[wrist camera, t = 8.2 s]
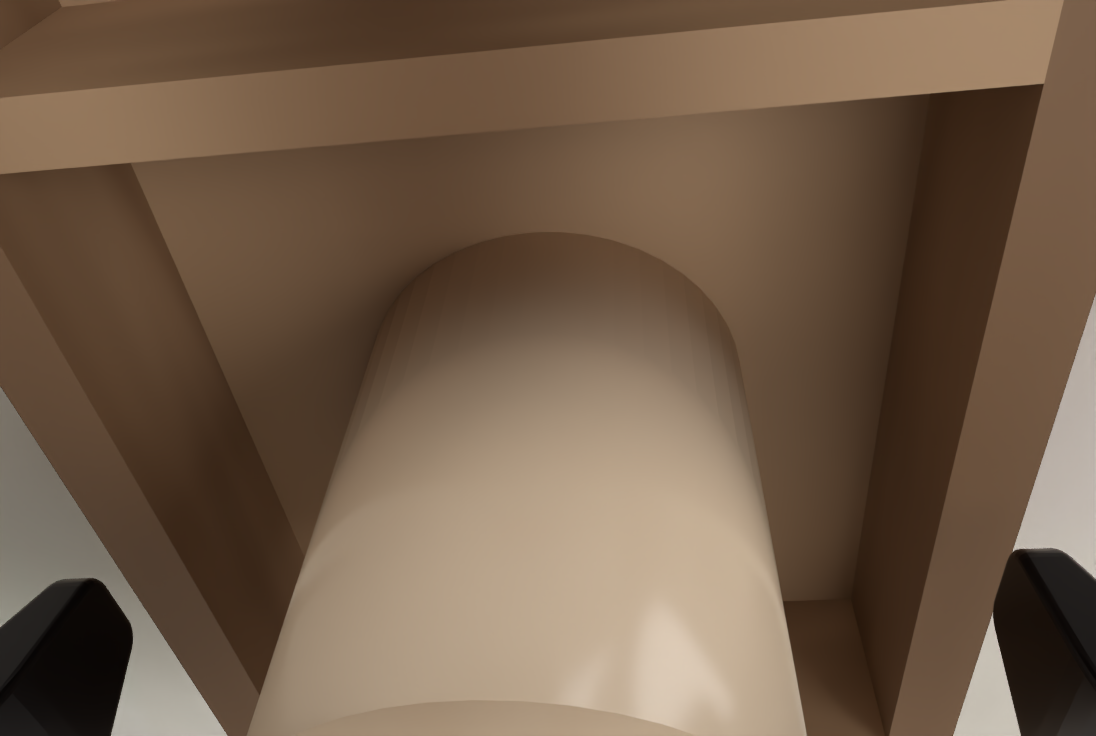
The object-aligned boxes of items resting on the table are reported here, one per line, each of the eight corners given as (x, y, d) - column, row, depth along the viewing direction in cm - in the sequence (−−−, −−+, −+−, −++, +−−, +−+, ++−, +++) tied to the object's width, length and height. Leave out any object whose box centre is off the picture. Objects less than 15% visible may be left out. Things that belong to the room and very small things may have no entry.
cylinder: (745, 216, 10) (979, 1229, 4) (738, 507, 13) (861, 1343, 6) (330, 247, 10) (-88, 1176, 4) (414, 519, 13) (243, 1303, 7)
